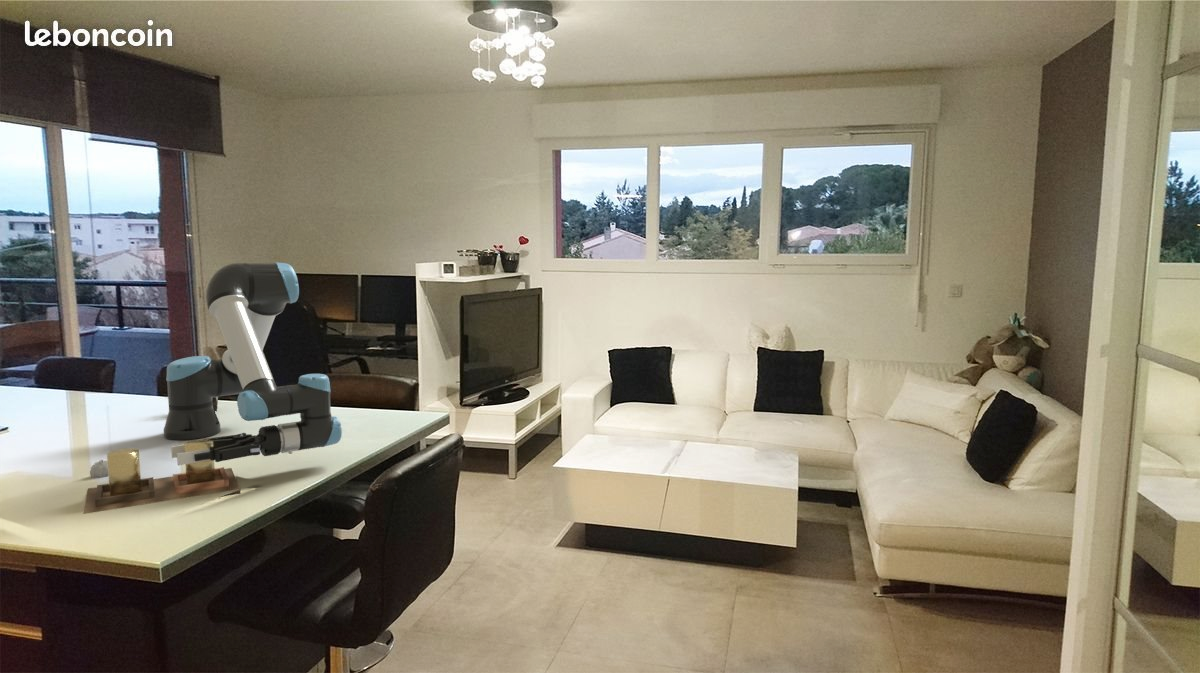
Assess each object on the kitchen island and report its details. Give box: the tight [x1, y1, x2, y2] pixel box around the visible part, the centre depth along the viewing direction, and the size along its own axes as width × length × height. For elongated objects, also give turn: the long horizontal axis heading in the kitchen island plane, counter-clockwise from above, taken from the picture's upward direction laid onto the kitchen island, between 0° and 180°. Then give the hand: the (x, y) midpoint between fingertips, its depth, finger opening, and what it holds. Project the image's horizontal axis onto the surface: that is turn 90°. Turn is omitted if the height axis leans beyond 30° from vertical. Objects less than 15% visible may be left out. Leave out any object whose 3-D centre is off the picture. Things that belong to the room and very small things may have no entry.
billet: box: [106, 447, 142, 496], centre depth 161 cm, size 6×6×10 cm
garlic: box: [89, 459, 109, 478], centre depth 175 cm, size 6×5×5 cm
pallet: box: [83, 466, 241, 515], centre depth 166 cm, size 30×18×3 cm, turn 123°
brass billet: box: [183, 438, 215, 485], centre depth 169 cm, size 6×6×10 cm
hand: (174, 455), depth 166 cm, fingers open, 6 cm apart
